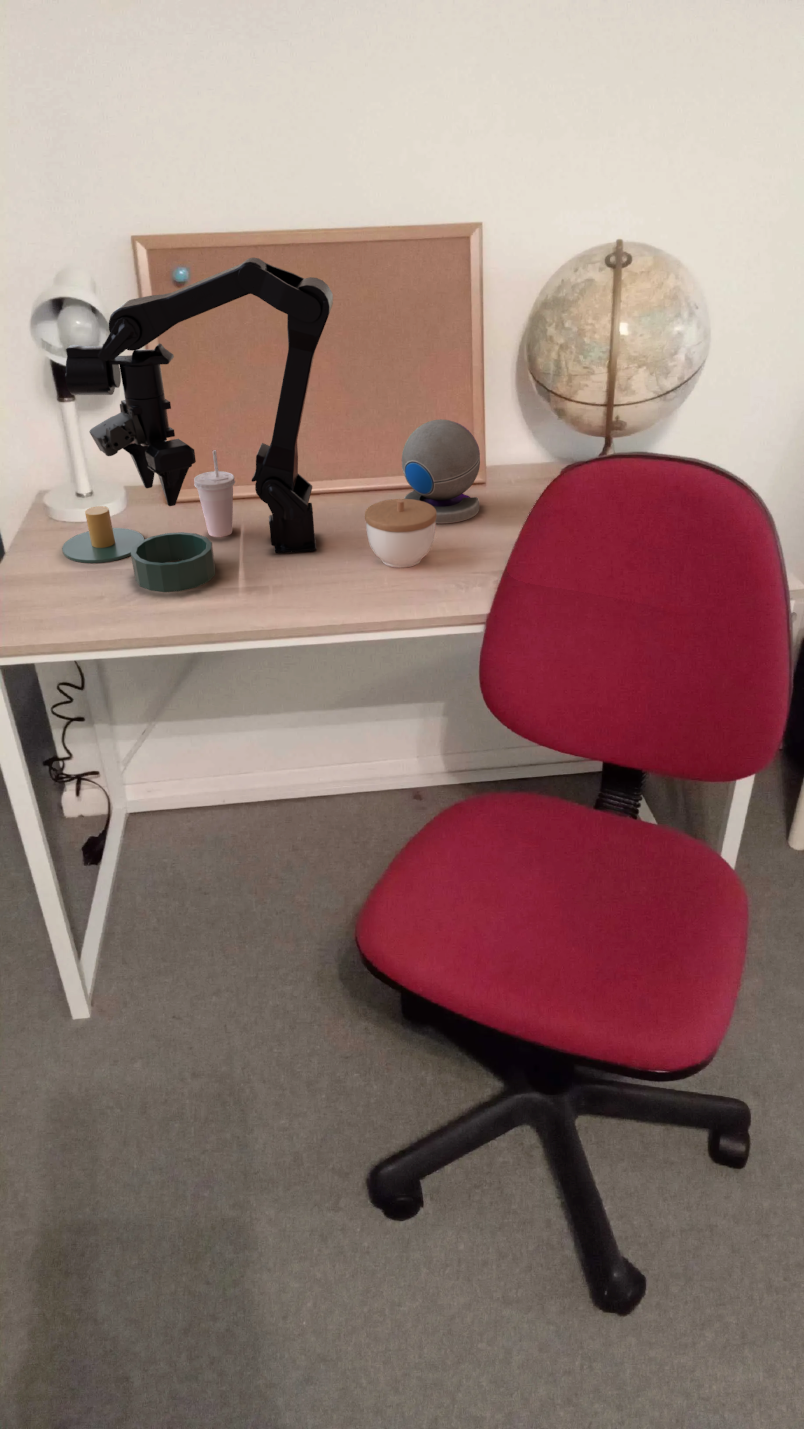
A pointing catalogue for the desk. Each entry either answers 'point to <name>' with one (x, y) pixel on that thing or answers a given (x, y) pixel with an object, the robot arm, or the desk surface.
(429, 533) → the trinket box
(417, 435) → the webcam
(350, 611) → the desk surface
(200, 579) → the tin
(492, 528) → the desk surface
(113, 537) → the lid
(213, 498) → the smoothie
